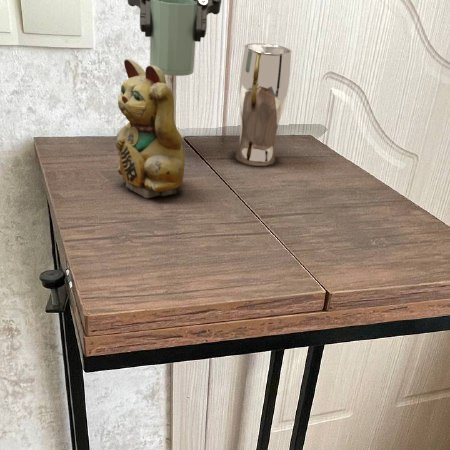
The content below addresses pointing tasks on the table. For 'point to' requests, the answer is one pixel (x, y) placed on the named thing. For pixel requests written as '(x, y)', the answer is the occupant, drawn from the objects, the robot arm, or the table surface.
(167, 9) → the cup
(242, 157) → the beer glass
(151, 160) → the decorative figurine
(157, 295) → the table surface
